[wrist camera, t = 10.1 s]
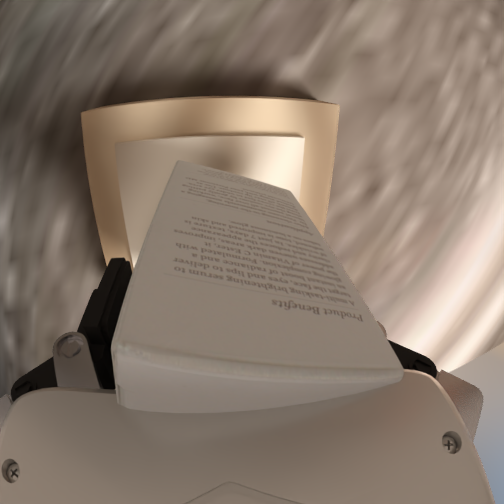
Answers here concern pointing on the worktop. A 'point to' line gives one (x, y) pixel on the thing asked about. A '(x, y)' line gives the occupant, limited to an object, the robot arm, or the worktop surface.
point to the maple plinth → (202, 155)
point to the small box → (241, 306)
